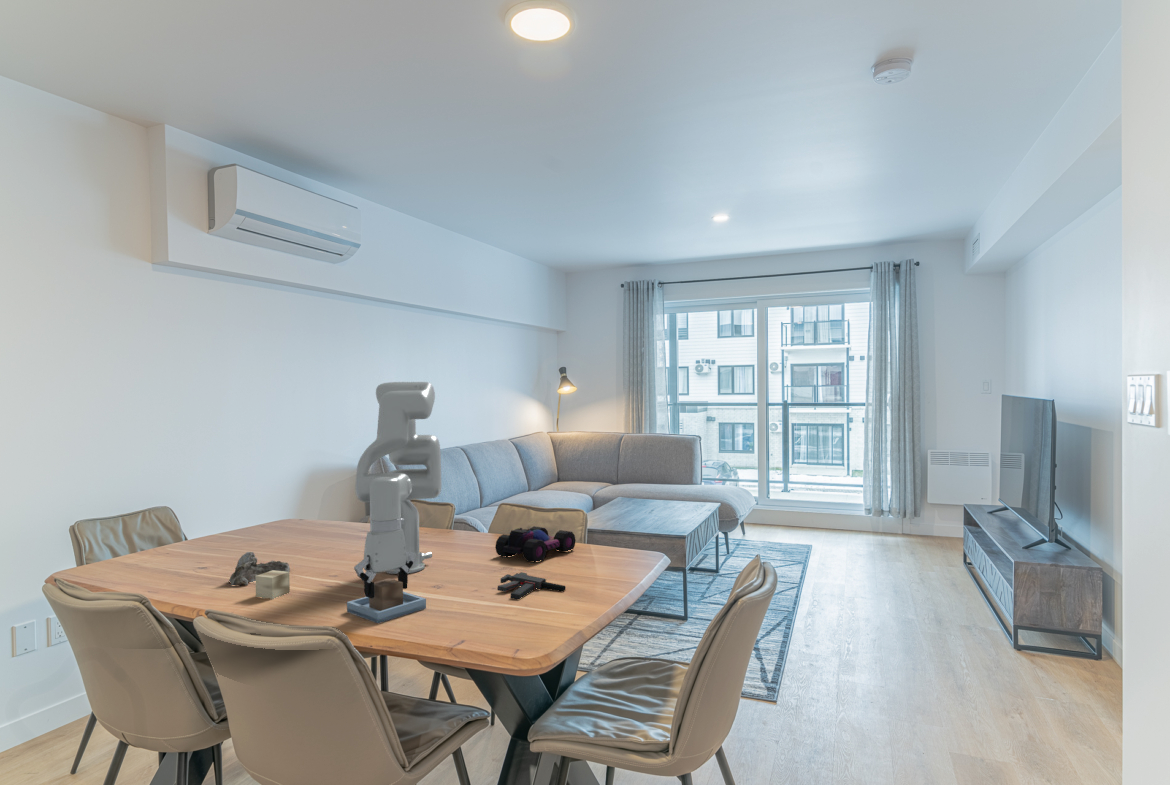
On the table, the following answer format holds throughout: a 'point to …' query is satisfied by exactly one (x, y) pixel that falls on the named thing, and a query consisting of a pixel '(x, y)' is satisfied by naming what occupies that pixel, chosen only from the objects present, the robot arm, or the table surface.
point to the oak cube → (272, 584)
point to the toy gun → (525, 584)
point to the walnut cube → (387, 594)
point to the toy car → (533, 543)
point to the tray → (363, 610)
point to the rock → (254, 569)
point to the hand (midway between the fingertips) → (386, 592)
